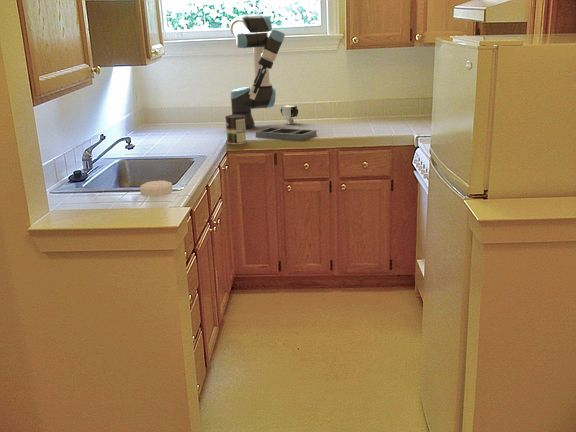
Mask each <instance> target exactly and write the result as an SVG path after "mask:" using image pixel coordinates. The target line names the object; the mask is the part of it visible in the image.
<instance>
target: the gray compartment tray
mask: <svg viewBox="0 0 576 432" xmlns="http://www.w3.org/2000/svg"><path fill="white" fill-rule="evenodd" d="M317 136H318V134H317V130H315V129H305V128H304V129H301V128H287V127H286V128H285V127H272V126H271V127H267V128H263V129H261V130H260V129H259V130H257V131H255V138H260V137H262V138H261V139H275V140H288V141H289V140H290V141H307V140H309V139H312V138H314V137H317Z"/></svg>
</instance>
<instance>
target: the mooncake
mask: <svg viewBox="0 0 576 432" xmlns="http://www.w3.org/2000/svg"><path fill="white" fill-rule="evenodd" d="M139 189H140V195H142V196H145V197H160V196H166V195H169V194H171V193H172V192H173V183H172V182H170V181H166V180H162V179H161V180H151V181H147V182H145V183H143V184H141V185H140V186H139Z"/></svg>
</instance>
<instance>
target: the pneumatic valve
mask: <svg viewBox="0 0 576 432" xmlns="http://www.w3.org/2000/svg"><path fill="white" fill-rule="evenodd" d="M280 113H281V117H285V124H287V125H293V124H294V123H295V120H294V117H296V118H297V117H298V114H299V109H298V106H297V105H291V104H290V103H288V104H286V105H281V108H280Z"/></svg>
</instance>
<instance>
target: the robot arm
mask: <svg viewBox="0 0 576 432" xmlns="http://www.w3.org/2000/svg"><path fill="white" fill-rule="evenodd" d="M229 31H230V33H231V34H232V35H233V36H234V37H235V44H236V47H237V48H238V49H249V48H252V49H253V51H252V53H253V65H254V66H253V68H254V79H253V82H252V85H251V87H249V86H245V87H244V86H243V87H239V88H235V89H232V90H231V92H230V102H231V104H230V105H231V115H245V129H251V128H252V129H253V128H255V127H256V123H255V121H254V118H253V115H252V110H258V109H270V108H273V107H274V106H275V103H276V88H275V87H273V84H272V83H271V82H270V81H271V80H270V70H271V69H272V67H273V65H274V62H275V61H276V58H277V56H278V54H279V50H280V49H281V46H282V44H283V42H284V39H285V37H286V36H285V33H284V32H282V31H280V30H278V29H276V28H273V25H272V21H271V18H270V16H269V15H268V14H266V13H265V14H263V13H257V14H241V15H238V16H236V17H234V18H233V19H232V20H231V22H230V24H229Z"/></svg>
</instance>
